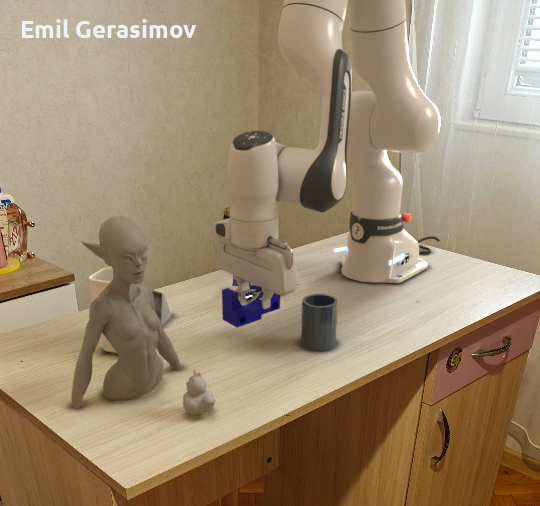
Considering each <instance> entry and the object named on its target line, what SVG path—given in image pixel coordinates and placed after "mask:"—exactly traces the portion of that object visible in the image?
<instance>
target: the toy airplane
mask: <svg viewBox="0 0 540 506" xmlns="http://www.w3.org/2000/svg"><path fill="white" fill-rule="evenodd" d="M248 283H249V287H250V290H252V291H253V293H260V292H261V290H262V287H260V286H258V285H255V284H253V283H251V282H248ZM231 286H232V287H239V286H238V283H237V279H236V276H235V275H232V284H231ZM297 286H299V284H298V283H297Z"/></svg>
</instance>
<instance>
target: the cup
mask: <svg viewBox="0 0 540 506" xmlns="http://www.w3.org/2000/svg"><path fill="white" fill-rule="evenodd" d="M112 280H113V268H112V267H111V266H107V267H103V268H100V269H99V270H97V271H96V272H94V273H92V274H91V275H89V276H88V283H89V284H88V285H89V290H90V297H91V303H92V302H93V301H94V300H95V299H96V298H98V297H99V294H100V293H101V292H102V291H103V290H104V289H105V288H106V286H107V285H108V284H109V283H110V282H111V281H112ZM99 340H100V342H101V345H102V349H103V351H105V352H108V353H111V354H117V355H118V353H117V352H116V351H115V350H114V348H113V347H112V345H111V344H110V343H109V341H108V340H107V338H106V337H105V336H104V334H103V333H102V334H101V336H100V339H99Z"/></svg>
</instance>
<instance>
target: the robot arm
mask: <svg viewBox="0 0 540 506" xmlns="http://www.w3.org/2000/svg"><path fill="white" fill-rule="evenodd" d="M348 6H349V7H348ZM406 7H407V6H406V0H284V1H283V5H282V11H281V15H280V18H279V23H278V31H277V44H278V48H279V51H280V54H281V56H282V58H283V60H284V61H285V62H286V64H287V65H288V66H289V67H290V68H291V69H292V70H294V72H296V73H297V74H299V75H300V76H302V77H304V78H305V79H307V80H308V81H310V82H311V83H313V84H315V85H316V86H317V87H318V89H319V91H320V93H321V112H320V113H321V114H320V126H319V138H318V139H319V140H318V144H317V146H316V148H314V149H309V148H301V147H293V146H290V145H284V144H282V143H279V142H277V141H276V140H275V137H274V135H273V134H272V133H270V132H268V131H265V130H251V131H245V132H243V133H240V134H238V135H237V136H235V137H234V138H233V139H232V140H231V143H230V148H229V153H228V164H227V182H228V183H227V186H228V187H227V188H228V193H229V196H230V208H229V218H224V219H221V220H219V221H215V222H214V223H213V224H212V231H213V234H215V237H214V242H213V243H214V244H213V245H214V246H213V247H214V259H215V264H216V266H217V269H219V270H220V271H223V272H226V273H228V274H230V275H232V276H233V275H235V276H236V279H237V283H238V286H237V287H238V288H239V290H240V298H241V300H243V301H246V302H249V301H253V297H254V296H253V294H254V292H253V291H252V290H250V287H249V283H248V282H251V283H253V284H255V285H258V286H260V287H262V292H263V293H264V294H263V296H262V298H259V307H261V308H263V309H267V308H269V307H270V306H271V298H272V296H273V294H274V293H276V294H278V295H280V297H281V296H286V295H289V294H292V293H294V292H295V291H296V289H297V288H298V285H297V284H298V274H297V273H298V272H297V263H296V259H295V255H294V251H293V250H292V249H291V247H290V246H289V243H287V242H286V241H283V240H280V239H279V209H278V205H277V203H281V204H284V205H292V206H297V207H303V208H304V209H307V210H311V211H315V212H318V213H326V212H327V211H329V210H331V209H333V208H334V207H335V206H336V205H338V204H339V203H340V202H341V201H342V199H343V198H344V196H345V194H346V189H347V184H348V162H349V164H350V168H351V171H352V183H353V184H352V209H351V211H350V214H349V219H348V220H349V223H348V228H349V232H348V233H347V240H346V245H345V246H342V247H338V248H334V249H333V252H334V253H338V252H342V251H344V258H343V259H341V266H342V267H341V270H340V272H341V274H342V275H343V276H345V277H346V278H348V279H351V280H354V281H358V282H363V283H389V284H401V283H403V282H405V281H406V280H408V279H410V278H412V277H414V276H416V275H417V274H419V273H421V272H422V271H425V270H426V269H428V266H429V265H428V263H427V262H426V261H425V260H423V259H422V258H420V255H428V254H430V253H431V252H432V249H431V248H430V247H427V246H425V245H421V244H420V243H422V242H424V241H427V240H435V241H436V242H441V240H440V238H439V237H437V236H434V235H430V236H425V237H421V238H420V239H418V240H416V239H415V238H414V237H413V236H412V235H410V233H408V231H407V230H406V229H405V228H404V223H407V224H409V223H410V222H411V221H412V217H413V216H412V214H411V213H406V212H402V213H401V207H402V206H401V205H402V196H403V185H404V182H403V178H402V175H401V174H400V172H399V171H398V170H397V169H396V167H394V166H393V165H392V164H391V162H390V160H389V157H388V154H387V152H392V153H399V154H414V153H415V154H416V153H424V152H426V151H428V150H429V149H430V148H431V147H432V146H433V144H434V143H435V142H436V139H437V138H438V135H439V133H440V127H441V116H440V112H439V110H438V107H437V106H436V105H435V103H433V102H432V101H431V100H430V98H428V97H427V95H426V94H425V93H424V91H423V90H422V89H421V87H420V85H419V84H418V81H417V79H416V77H415V74H414V72H413V69H412V66H411V61H410V56H409V45H408V44H409V43H408V30H407V10H406V9H407V8H406ZM347 9H349V10H348V11H349V12H348V14H349V17H348V18H349V29H350V43H351V53H352V61H351V58H350V56H349V54H348V53H346V52H345V51H344V48H343V30H344V25H345V20H346V15H347ZM352 64H353V67H352ZM352 68H353V69H354V70H355V72H356V74H357V75H358V76H359V78H361V79H362V80H363V81H364V82H365V83H366V85H368V86H369V88H370V90H371V91H370V90H369V91H368V90H357V91H352V88H353V69H352ZM347 158H348V160H349V161H348V160H347ZM403 222H404V223H403ZM420 249H421V251H420ZM422 250H424V251H422Z"/></svg>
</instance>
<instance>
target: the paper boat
mask: <svg viewBox="0 0 540 506" xmlns="http://www.w3.org/2000/svg"><path fill="white" fill-rule="evenodd" d="M151 290H152V292H153V296H154V308H155V312H156V314H157V316H158V318H159V322H160V325H161V327H163V326H164V325H165V324H166V322H168V321H169V320H170V319H171V318H172V317H173V316H172V313H171V309H170V307H169V303H168V300H167V296H166V293H164V292H160V291H157V290H153V289H151Z"/></svg>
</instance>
